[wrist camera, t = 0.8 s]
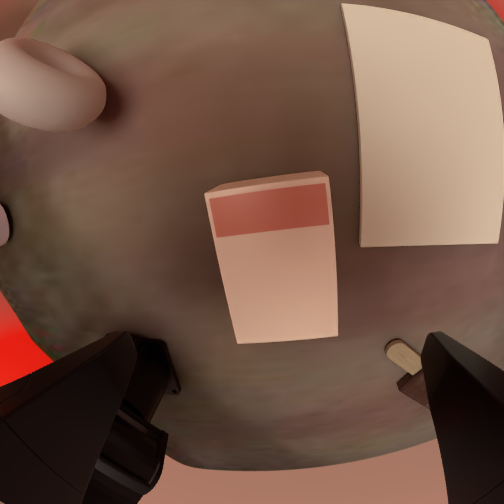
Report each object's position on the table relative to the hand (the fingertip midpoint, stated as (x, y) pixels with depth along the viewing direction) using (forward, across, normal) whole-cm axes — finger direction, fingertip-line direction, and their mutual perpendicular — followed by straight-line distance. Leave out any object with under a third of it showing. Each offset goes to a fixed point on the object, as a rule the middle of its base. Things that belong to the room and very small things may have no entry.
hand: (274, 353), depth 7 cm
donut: (+11, +13, -12) cm, 21 cm away
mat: (+11, -11, -7) cm, 17 cm away
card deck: (+11, 0, +1) cm, 11 cm away
